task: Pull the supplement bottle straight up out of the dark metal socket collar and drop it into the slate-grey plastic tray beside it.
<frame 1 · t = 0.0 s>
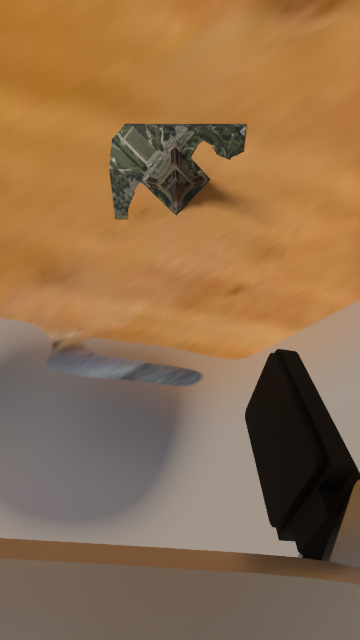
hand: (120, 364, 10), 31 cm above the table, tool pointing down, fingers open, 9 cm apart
eiffel tower figurine: (176, 174, 36), on the table
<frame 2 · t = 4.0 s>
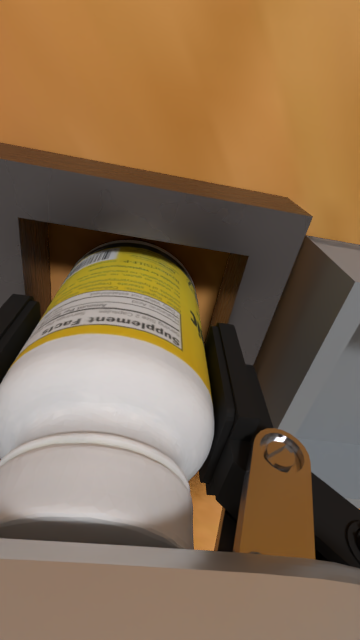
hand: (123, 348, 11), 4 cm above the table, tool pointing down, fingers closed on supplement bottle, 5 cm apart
socket collar: (134, 297, 14), on the table
supplement bottle: (134, 294, 14), resting in socket collar, touching gripper
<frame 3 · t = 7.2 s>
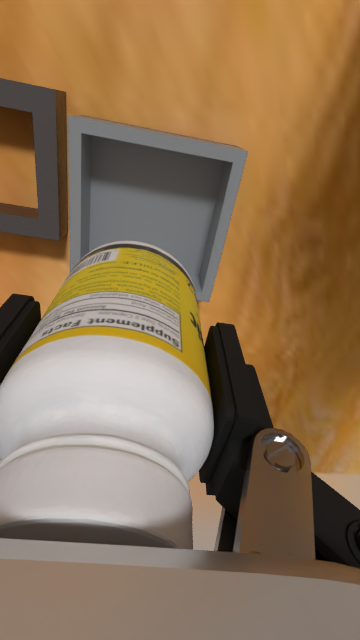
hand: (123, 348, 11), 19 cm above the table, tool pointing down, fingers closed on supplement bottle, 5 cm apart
tray: (152, 210, 27), on the table
socket collar: (0, 156, 24), on the table
supplement bottle: (134, 295, 14), point 15 cm above the table, touching gripper
when the fingers open (7 cm above the table, at t = 10.3 s): supplement bottle drops 2 cm, resting on tray.
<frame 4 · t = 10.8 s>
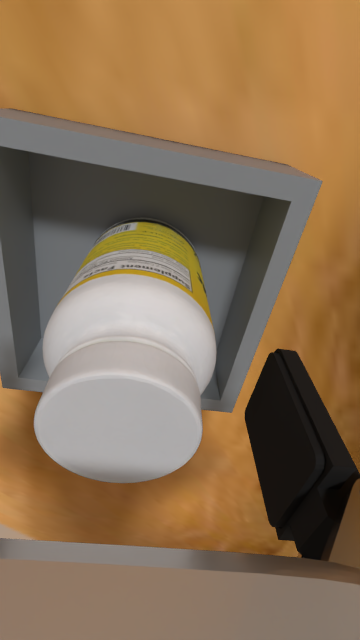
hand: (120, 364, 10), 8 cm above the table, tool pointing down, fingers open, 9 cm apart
tray: (141, 264, 17), on the table
supplement bottle: (146, 268, 16), point 1 cm above the table, touching tray
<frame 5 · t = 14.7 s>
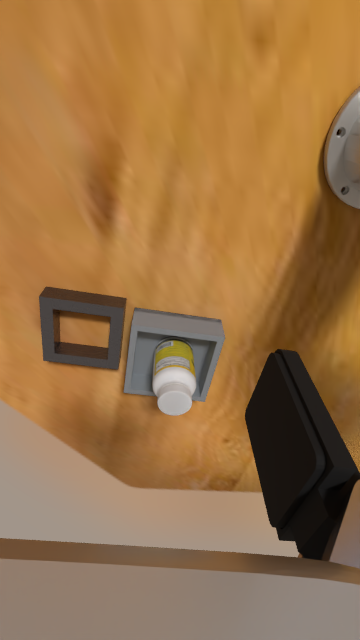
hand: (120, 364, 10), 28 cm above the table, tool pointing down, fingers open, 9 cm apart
tray: (171, 347, 45), on the table
socket collar: (86, 324, 43), on the table
supplement bottle: (173, 350, 45), point 1 cm above the table, touching tray
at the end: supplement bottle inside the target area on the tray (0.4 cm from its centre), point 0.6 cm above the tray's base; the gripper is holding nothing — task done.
